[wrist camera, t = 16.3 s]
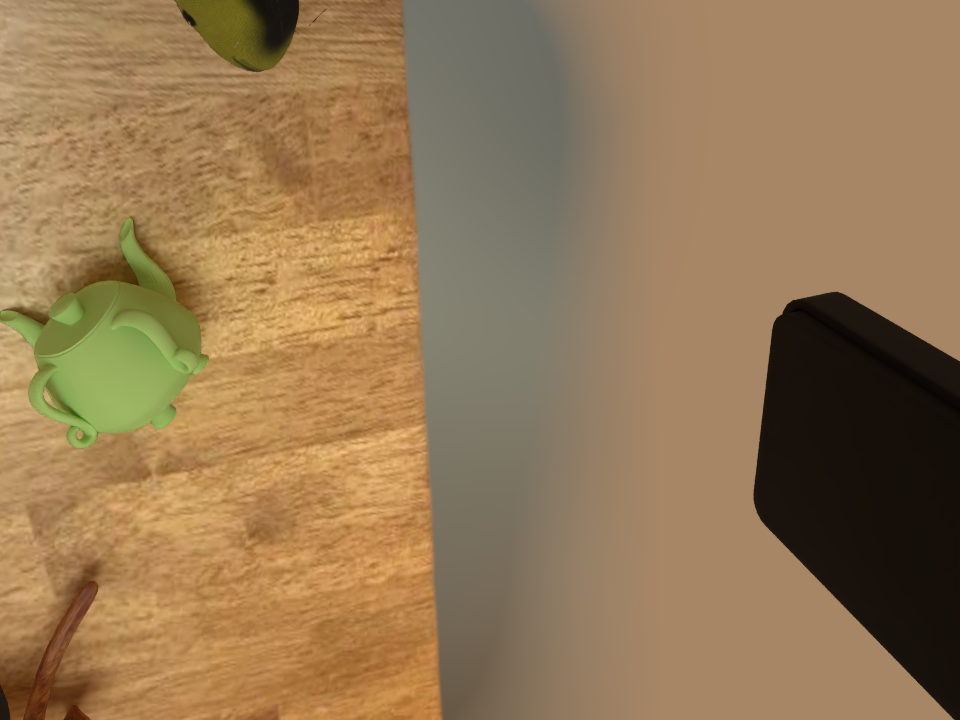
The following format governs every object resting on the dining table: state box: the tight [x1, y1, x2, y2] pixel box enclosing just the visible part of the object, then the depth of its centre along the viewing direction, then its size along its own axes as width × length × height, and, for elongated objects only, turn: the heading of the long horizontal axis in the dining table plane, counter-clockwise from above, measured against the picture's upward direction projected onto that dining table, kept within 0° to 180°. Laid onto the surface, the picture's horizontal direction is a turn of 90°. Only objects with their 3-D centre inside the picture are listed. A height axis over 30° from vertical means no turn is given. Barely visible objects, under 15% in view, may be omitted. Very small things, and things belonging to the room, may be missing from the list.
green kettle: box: [0, 218, 209, 449], centre depth 32 cm, size 6×5×6 cm
